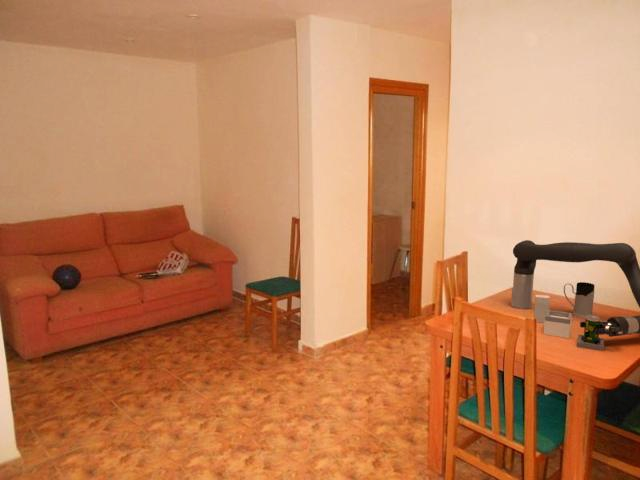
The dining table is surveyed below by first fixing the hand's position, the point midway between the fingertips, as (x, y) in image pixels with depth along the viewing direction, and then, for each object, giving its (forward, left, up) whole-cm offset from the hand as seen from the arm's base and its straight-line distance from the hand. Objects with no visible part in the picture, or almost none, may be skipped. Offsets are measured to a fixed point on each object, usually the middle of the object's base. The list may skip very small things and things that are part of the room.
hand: (587, 328), depth 210 cm
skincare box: (-20, +22, -7) cm, 31 cm away
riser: (-12, +10, -7) cm, 17 cm away
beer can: (+1, +1, -7) cm, 8 cm away
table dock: (+1, +1, -7) cm, 7 cm away
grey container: (-6, +42, -7) cm, 43 cm away
